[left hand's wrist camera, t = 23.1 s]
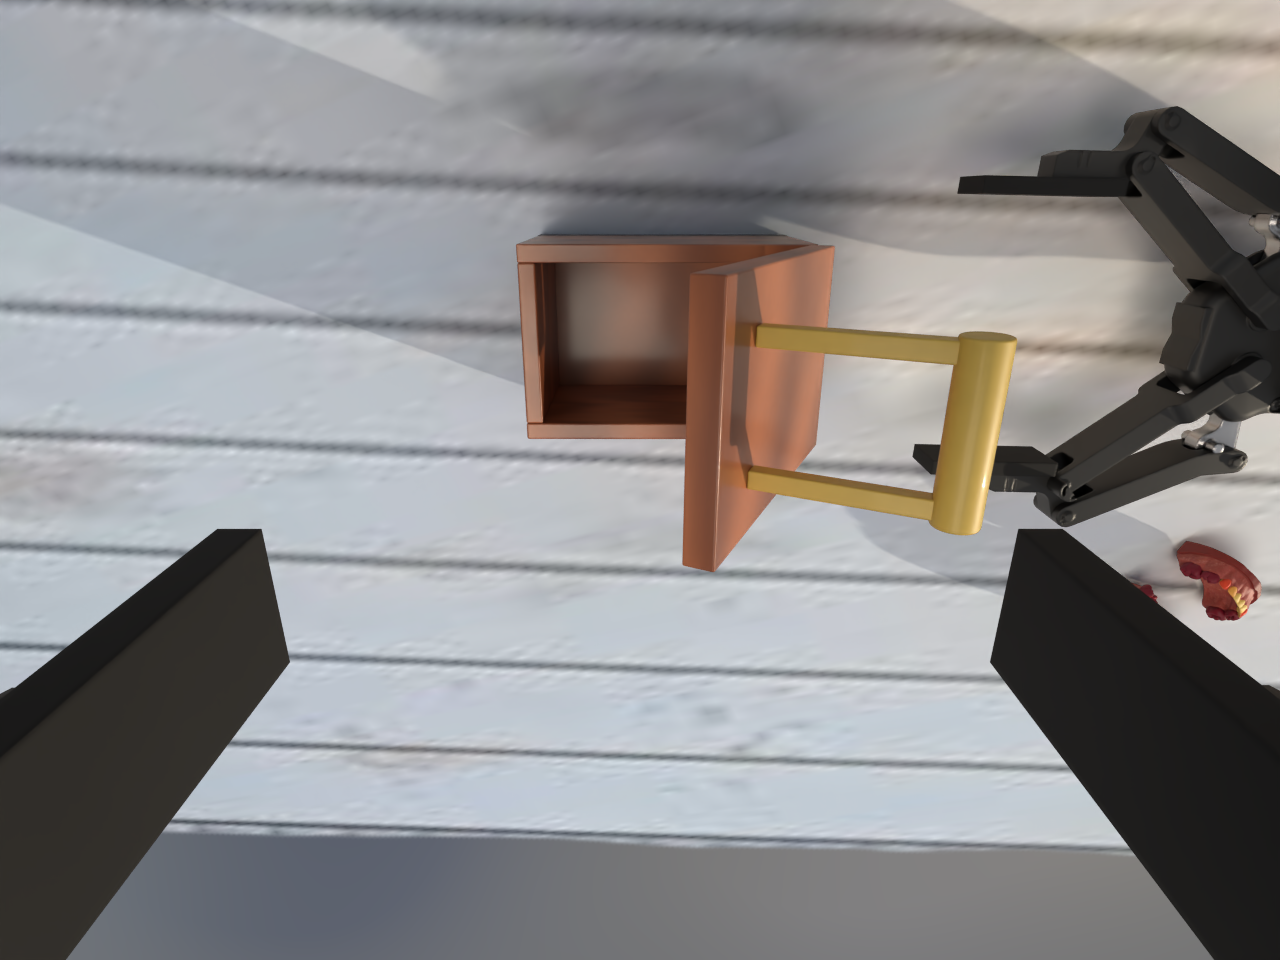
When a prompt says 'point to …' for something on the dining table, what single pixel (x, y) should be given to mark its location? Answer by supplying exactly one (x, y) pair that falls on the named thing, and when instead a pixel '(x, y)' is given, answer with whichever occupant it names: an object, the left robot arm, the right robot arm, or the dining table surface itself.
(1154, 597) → the dental model
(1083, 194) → the right robot arm
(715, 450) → the lid
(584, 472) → the dining table surface
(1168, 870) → the left robot arm
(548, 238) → the chest
